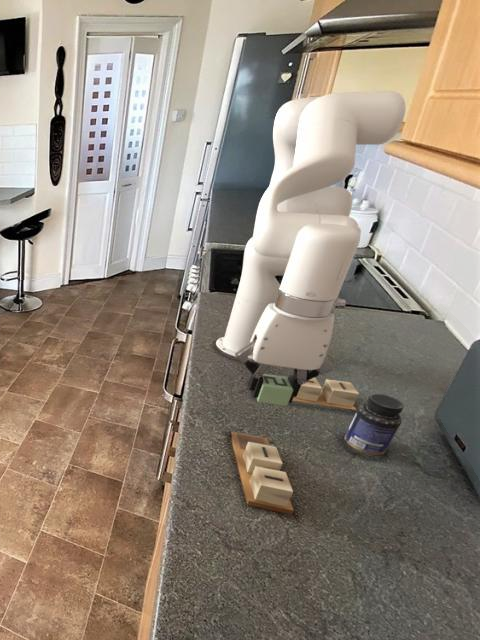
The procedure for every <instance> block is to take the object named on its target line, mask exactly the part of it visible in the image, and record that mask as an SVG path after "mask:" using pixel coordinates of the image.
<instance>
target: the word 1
mask: <svg viewBox="0 0 480 640" xmlns="http://www.w3.org/2000/svg"><path fill="white" fill-rule="evenodd" d="M230 432H231V434H229V436H230V441H231V445H232V449H233V453H234V457H235V461H236V466H237V469H238V474H239V477H240V481H241V485H242V489H243V493H244V497H245V501H246V504H247V506H249V507H250V506H251V507H256V508H260V509H264V510H269V511H273V512H277V513H282V514H287V515H290V516H292V515H293V514H294V512H295V511H294V507H293V505H292V501H291V498H292V495H293V494H294V490H293V488H292V484H291V482H290V480H289V477H288V475H287V472H286V471H283V470H281V469H282V466H283V461H282V458H281V455H280V453H279V450H278V447H277V446H273V445H271V443H270V440H269V438H268V437H263V436H259V435H253V434H247V433H243V432H235V431H230Z"/></svg>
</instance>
